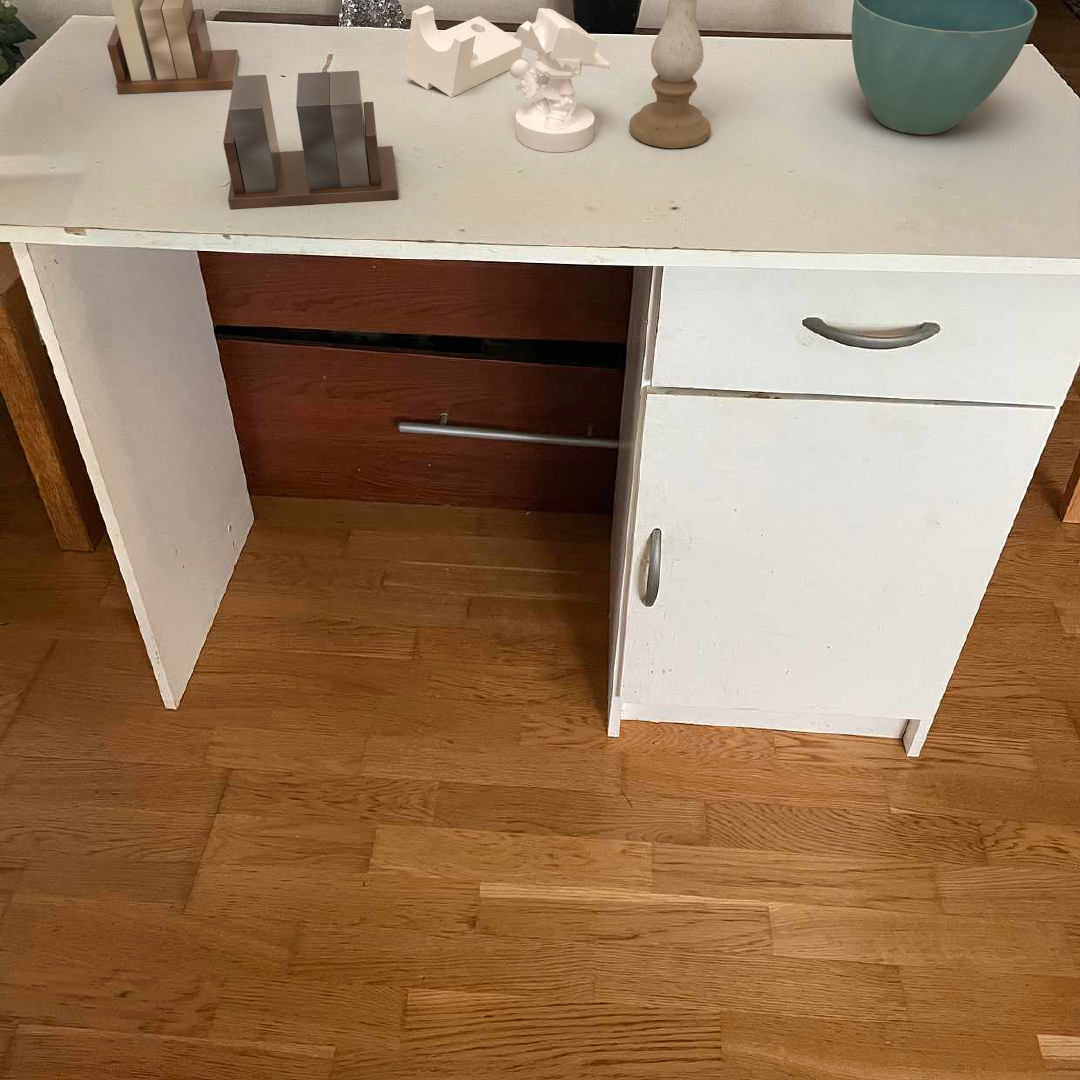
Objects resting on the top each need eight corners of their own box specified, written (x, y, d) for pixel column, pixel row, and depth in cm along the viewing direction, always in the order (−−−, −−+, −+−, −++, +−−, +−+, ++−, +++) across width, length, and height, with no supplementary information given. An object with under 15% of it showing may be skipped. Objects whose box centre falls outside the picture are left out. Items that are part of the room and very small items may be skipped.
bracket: (450, 105, 117) (460, 42, 111) (404, 74, 119) (412, 11, 113) (518, 71, 125) (531, 11, 119) (474, 43, 126) (485, -18, 120)
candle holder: (705, 117, 113) (732, -92, 99) (713, 150, 107) (743, -67, 93) (627, 115, 113) (642, -94, 99) (630, 148, 107) (647, -69, 93)
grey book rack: (230, 209, 97) (209, 114, 90) (236, 163, 104) (217, 72, 97) (398, 199, 98) (389, 105, 92) (393, 155, 105) (385, 65, 99)
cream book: (131, 81, 116) (95, -56, 106) (140, 55, 122) (106, -77, 112) (151, 80, 116) (117, -57, 107) (159, 55, 122) (127, -77, 112)
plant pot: (802, 125, 112) (825, 5, 103) (870, 76, 122) (897, -37, 114) (962, 170, 104) (1001, 45, 96) (1020, 114, 115) (1060, -3, 106)
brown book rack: (118, 94, 116) (95, 13, 110) (129, 62, 123) (109, -16, 117) (233, 89, 118) (218, 9, 111) (239, 57, 125) (224, -19, 118)
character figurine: (504, 124, 111) (502, 6, 103) (583, 112, 114) (588, -4, 105) (532, 157, 105) (533, 35, 97) (615, 144, 108) (623, 23, 100)
